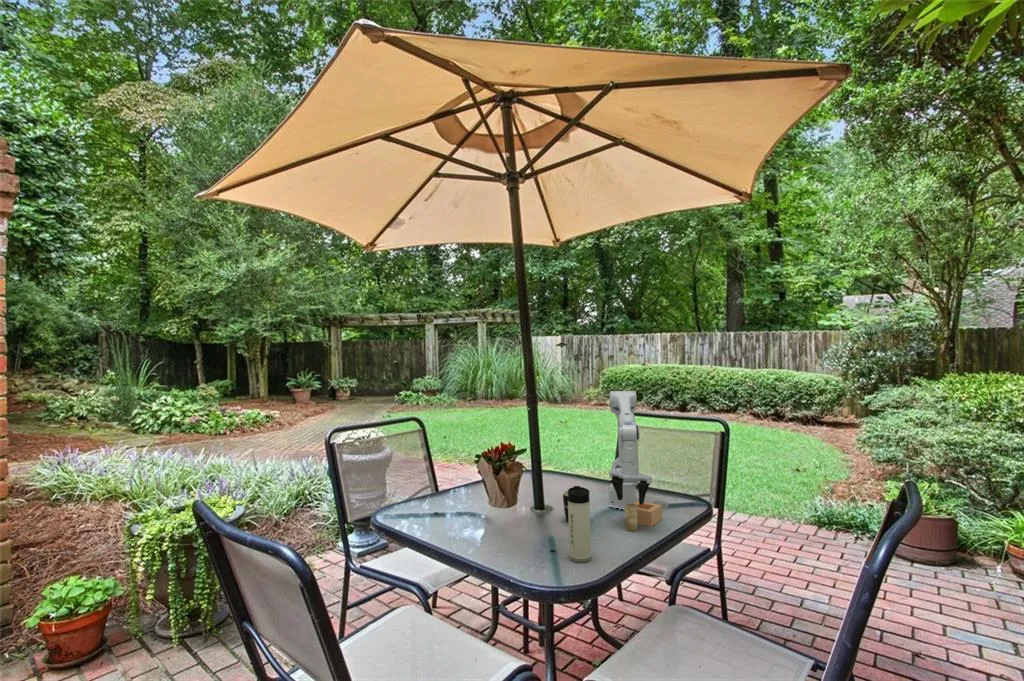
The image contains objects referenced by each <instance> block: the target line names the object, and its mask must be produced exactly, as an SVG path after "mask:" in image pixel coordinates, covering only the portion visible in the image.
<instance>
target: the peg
mask: <svg viewBox="0 0 1024 681" xmlns="http://www.w3.org/2000/svg"><path fill="white" fill-rule="evenodd" d="M624 521H625V522H624V523H625V531H626V532H629V533H636V532H638V531H639V526H638V525H639V524H638V518H637V505H635V504H625V510H624Z"/></svg>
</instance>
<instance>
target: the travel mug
mask: <svg viewBox="0 0 1024 681" xmlns="http://www.w3.org/2000/svg"><path fill="white" fill-rule="evenodd" d="M567 490H568V520H569V523H568V545H569V546H568V548H569V551H568V552H569V559H570V560H571V562H575V563H578V562H581V564H582V563H583V562H584V563H587V562H590V561H591V560H592V540H591V539H592V538H591V536H592V535H591V534H592V532H591V504H590V502H591V500H590V490H589V489H588V488H585V487H582V486H581V485H573V487H570V488H568V489H567ZM584 563H583V564H584Z"/></svg>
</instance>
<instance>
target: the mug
mask: <svg viewBox="0 0 1024 681" xmlns="http://www.w3.org/2000/svg"><path fill="white" fill-rule="evenodd" d="M568 490H569V489H567V490H565V491H563V492H562V500H563V510H564V516H565V519H566V520H565V521H566V522H567V524H569V520H568Z"/></svg>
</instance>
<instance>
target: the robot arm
mask: <svg viewBox="0 0 1024 681" xmlns="http://www.w3.org/2000/svg"><path fill="white" fill-rule="evenodd" d="M609 407H610V412H611V413H612V414H614V415H615V417H616V419H617V437H618V438H617V440H618V441H617V442H618V457H616V459H614V460H613V461H612V462H611V470H609V471H608V477H609V478H611V479H610V485H609V489H608V497H609V498H608V499H609V505H608V507H609V506H610V505H611V506H610V507H612V506H613V507H614V508H613V509H616V508H619V509H618V510H621V509H623V510H622V511H625V504H633V503H635V502H636V501H637V500H636V499H637V498H636V496H637V495H636V486H637V491H638V501H639V504H643V503H644V502H645V498H646V494H647V492H648V489H649V486H650V485H651V484H652V483H653V476H652V475H647V474H643V473H640V470H639V442H640V427H639V424H638V423H637V422H636V421H637V420H636V417H635V414H634V413H635V412H636V410H637V409H636V408H637V392H636V391H635V390H620V391H619V390H615V391H613V390H611V391H609ZM610 507H609V508H610Z"/></svg>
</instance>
